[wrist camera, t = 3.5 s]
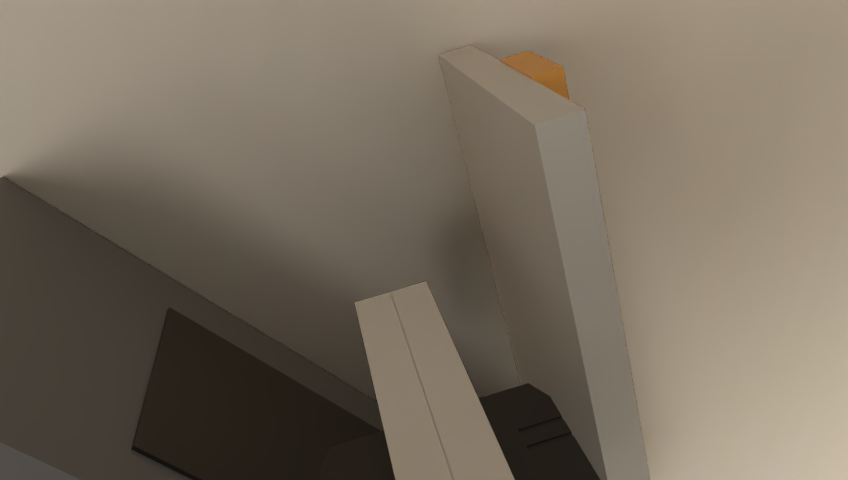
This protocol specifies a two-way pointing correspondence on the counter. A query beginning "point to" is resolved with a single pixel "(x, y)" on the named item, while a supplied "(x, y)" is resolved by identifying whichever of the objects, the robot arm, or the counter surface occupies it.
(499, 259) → the side door
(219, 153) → the counter surface
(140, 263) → the box
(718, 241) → the counter surface
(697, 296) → the counter surface
